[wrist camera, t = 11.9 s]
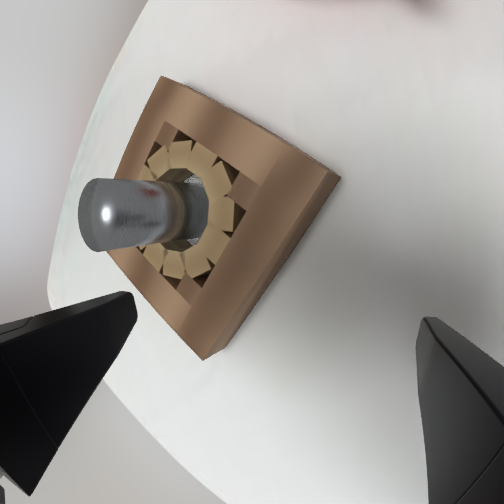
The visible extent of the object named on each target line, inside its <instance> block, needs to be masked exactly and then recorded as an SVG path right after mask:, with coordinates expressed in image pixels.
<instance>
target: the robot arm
mask: <svg viewBox="0 0 504 504" xmlns="http://www.w3.org/2000/svg"><path fill="white" fill-rule="evenodd" d="M137 318H138V314H137V309H136V305H135V301H134V296H133V295H132V293H130V292H125V291H119V292H116V293H112V294H109V295H105V296H102V297H98V298H95V299H91V300H88V301H84V302H81V303H77V304H74V305H70V306H67V307H63V308H60V309H56V310H53V311H49V312H46V313H42V314H39V315H35V316H34V317H28V318H24V319H21V320H17V321H14V322H10V323H5V324H2V325H0V478H1V477H2V476H3V475H4V476H5V477H6V478H7V479H9V480H10V481H11V482H12V483H13V484H14V485H16V486H17V487H18V488H19V489H21V490H22V491H23V492H24V493H25V494H27V495H28V496H31V494H32V493H33V491H34V490H35V488H36V486H37V484H38V483H39V481H40V479H41V477H42V476H43V474H44V472H45V471H46V469H47V467H48V465H49V464H50V462H51V460H52V459H53V457H54V455H55V454H56V452H57V450H58V448H59V446H60V445H61V443H62V441H63V440H64V438H65V437H66V435H67V433H68V432H69V430H70V429H71V427H72V425H73V424H74V422H75V420H76V419H77V417H78V416H79V414H80V413H81V411H82V409H83V408H84V406H85V405H86V403H87V402H88V400H89V398H90V397H91V396H92V394H93V392H94V391H95V389H96V388H97V386H98V385H99V383H100V382H101V380H102V379H103V377H104V376H105V374H106V373H107V371H108V370H109V368H110V367H111V365H112V364H113V362H114V361H115V359H116V358H117V356H118V354H119V353H120V351H121V349H122V347H123V345H124V344H125V342H126V340H127V338H128V336H129V334H130V332H131V331H132V329H133V327H134V325H135V323H136V321H137ZM416 361H417V380H418V396H419V403H420V410H421V417H422V425H423V433H424V442H425V452H426V464H427V478H428V497H429V504H504V367H503V366H502V365H501V364H499V363H498V362H497V361H495V360H494V359H493V358H492V357H490V356H489V355H488V354H486V353H485V352H484V351H482V350H481V349H480V348H478V347H477V346H475V345H474V344H473V343H471V342H470V341H469V340H467V339H466V338H465V337H463V336H462V335H460V334H459V333H458V332H456V331H455V330H454V329H452V328H451V327H449V326H448V325H447V324H445V323H444V322H442V321H441V320H440V319H438V318H437V317H424V318H423V319H422V321H421V325H420V329H419V333H418V337H417V341H416ZM4 493H5V492H4V488H3V487H2V486H1V485H0V504H5V494H4Z"/></svg>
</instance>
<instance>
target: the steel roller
mask: <svg viewBox="0 0 504 504" xmlns="http://www.w3.org/2000/svg"><path fill="white" fill-rule="evenodd" d="M208 210H209V199H208V196H207V194H206V191H205V188H204V186H203V184H196V183H182V182H167V181H149V180H129V179H103V178H96V179H93V180H91V181H90V182H88V183H87V185H86V186H85V188H84V189H83V192H82V194H81V197H80V201H79V207H78V221H79V228H80V232H81V235H82V237H83V240H84V241H85V243H86V245H87V246H88V247H89V248H90V249H91V250H93V251H96V252H101V251H108V250H115V249H121V248H128V247H135V246H142V245H149V244H156V243H163V242H171V241H178V240H185V239H193V238H200V237H201V236H202V234H203V232H204V230H205V228H206V227H207V225H208Z"/></svg>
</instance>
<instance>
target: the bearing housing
mask: <svg viewBox="0 0 504 504" xmlns="http://www.w3.org/2000/svg"><path fill="white" fill-rule="evenodd" d="M192 174H195V175H196V176H197V177H199V178H200V179H201V181H202V183H203V186H204V188H205V191H206V194H207V196H208V199H209V210H208V225H207V227H206V228H205V230H204V232H203V234H202V236H201V238H200V240H199V242H198V243H197V244H196V245H194V246H191V245H190V244H189V243H188V242H187V241H186V240H178V241H171V242H163V243H156V244H149V245H142V246H135V247H128V248H121V249H115V250H108V251H106V252H107V253H108V254H109V255H110V257H111V258H112V259H113V260H114V262H115V263H116V264H117V265H118V267H119V268H120V269H121V270H122V271H123V273H124V274H125V275H126V276H127V278H128V279H129V280H130V281H131V282H132V284H133V285H134V286H135V287H136V288H137V289H138V291H139V292H140V293H141V294H142V295H143V296H144V298H145V299H146V300H147V301H148V302H149V303H150V304H151V306H152V307H153V308H154V309H155V310H156V311H157V312H158V314H159V315H160V316H161V317H162V318H163V319H164V320H165V321H166V322H167V324H168V325H169V326H170V327H171V328H172V329H173V330H174V331H175V332H176V333H177V334H178V335H179V337H180V338H181V339H182V340H183V341H184V342H185V343H186V344H187V345H188V346H189V347H190V348H191V349H192V350H193V351H194V352H195V353H196V354H197V355H198V356H199V357H200V358H201V359H202V361H203V360H205V359H207V358H208V357H210V356H212V355H213V354H215V353H217V352H219V351H220V350H222V349H224V348H225V347H226V346H227V344H228V343H229V341H230V340H231V339H232V337H233V336H234V334H235V333H236V332H237V330H238V329H239V327H240V326H241V324H242V323H243V322H244V320H245V319H246V317H247V316H248V314H249V313H250V312H251V310H252V309H253V307H254V306H255V304H256V303H257V302H258V300H259V299H260V297H261V296H262V294H263V293H264V291H265V290H266V289H267V287H268V286H269V284H270V283H271V281H272V280H273V278H274V277H275V275H276V274H277V272H278V271H279V270H280V268H281V267H282V265H283V264H284V262H285V261H286V259H287V258H288V256H289V255H290V253H291V252H292V250H293V249H294V247H295V246H296V244H297V243H298V241H299V240H300V238H301V237H302V235H303V234H304V232H305V231H306V229H307V228H308V226H309V225H310V223H311V222H312V220H313V219H314V217H315V216H316V214H317V213H318V211H319V210H320V208H321V207H322V205H323V204H324V202H325V201H326V199H327V198H328V196H329V195H330V193H331V191H332V190H333V188H334V187H335V185H336V184H337V182H338V181H339V179H340V178H341V177H340V176H339V175H337V174H336V173H334V172H333V171H331V170H330V169H329V168H327V167H326V166H324V165H323V164H321V163H319V162H318V161H316V160H315V159H313V158H312V157H310V156H309V155H307V154H306V153H304V152H302V151H301V150H299V149H298V148H296V147H295V146H293V145H291V144H290V143H288V142H286V141H285V140H283V139H282V138H280V137H278V136H277V135H275V134H273V133H272V132H270V131H268V130H267V129H265V128H263V127H262V126H260V125H258V124H256V123H255V122H253V121H251V120H249V119H248V118H246V117H244V116H242V115H241V114H239V113H237V112H235V111H233V110H232V109H230V108H228V107H226V106H224V105H222V104H221V103H219V102H217V101H215V100H213V99H211V98H209V97H207V96H205V95H203V94H201V93H200V92H198V91H196V90H194V89H192V88H190V87H188V86H186V85H183V84H181V83H179V82H176V81H174V80H171V79H169V78H166V77H164V76H160V78H159V80H158V82H157V84H156V86H155V88H154V90H153V92H152V94H151V96H150V98H149V100H148V102H147V104H146V106H145V108H144V110H143V112H142V114H141V116H140V118H139V121H138V123H137V125H136V127H135V129H134V131H133V134H132V136H131V138H130V140H129V143H128V145H127V147H126V150H125V152H124V154H123V157H122V159H121V162H120V164H119V167H118V169H117V172H116V174H115V177H114V179H129V180H149V181H167V182H183V181H184V180H185V179H187V178H188V177H189V176H191V175H192Z"/></svg>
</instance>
